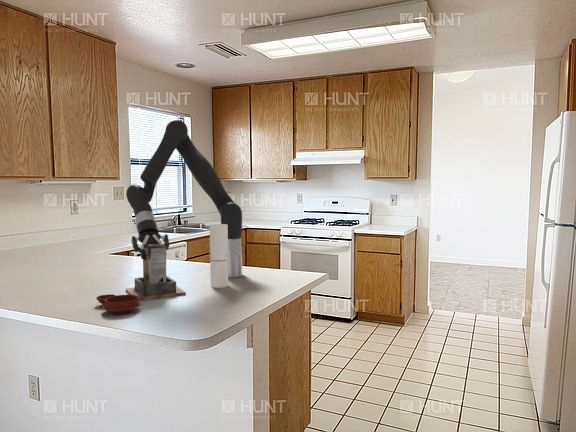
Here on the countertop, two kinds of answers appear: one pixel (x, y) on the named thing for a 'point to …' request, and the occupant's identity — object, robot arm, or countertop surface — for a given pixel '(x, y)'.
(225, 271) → the cylindrical container
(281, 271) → the countertop surface
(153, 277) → the coffee box
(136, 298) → the pottery
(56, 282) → the countertop surface
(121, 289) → the countertop surface
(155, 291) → the docking cradle
